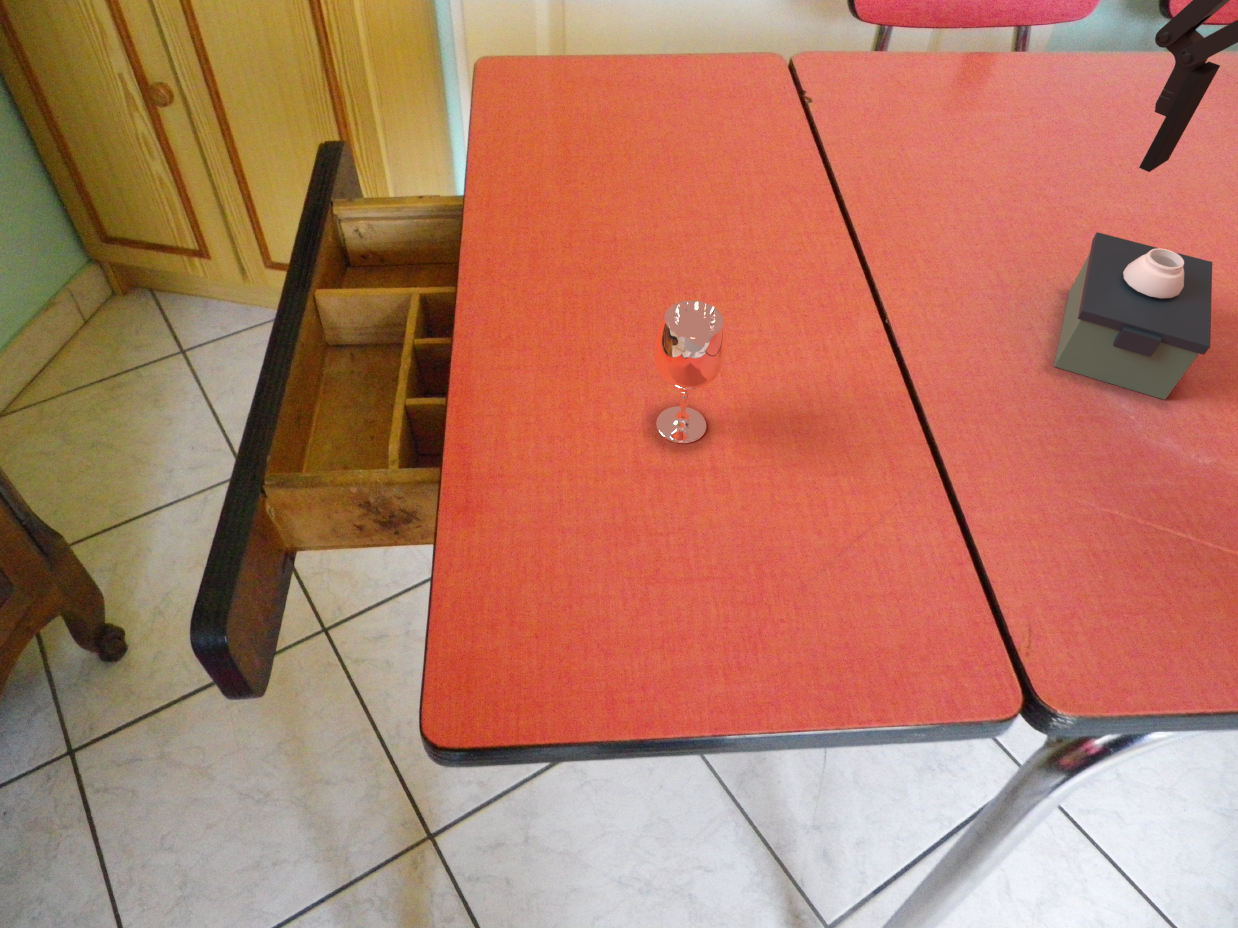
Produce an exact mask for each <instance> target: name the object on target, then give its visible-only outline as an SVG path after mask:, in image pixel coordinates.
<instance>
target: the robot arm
mask: <svg viewBox="0 0 1238 928" xmlns="http://www.w3.org/2000/svg"><path fill="white" fill-rule="evenodd" d="M1230 1H1231V0H1191V1H1190V2H1189V3H1187V4H1186V6H1184V7H1183V8H1182V9H1181V10H1180V11H1179V12H1178V13H1177V14H1176V15H1174V16H1173V17H1172V18H1171V19H1170V20H1169V21H1168V22H1167V23H1166V24H1164V25H1163V26H1162V27H1161V28H1160V29H1159V30H1158V31H1157V32H1156V34H1155V37H1154V42H1155V44H1156V46H1157V47H1159V48H1162V49H1166V50H1168V51H1169V52H1170V54H1172V56H1173V57H1174V67H1173V69H1172V71H1171V73H1170V74H1169V76H1168V78H1167V81H1166V82H1165V84H1164V86H1163V89H1162V90H1161V92H1160V94H1159V96H1158V98H1157V100H1156V102H1155V104H1154V105H1155V106H1154V113H1156V114H1159V115H1160V116H1164V117H1165V118H1164V119H1163V121H1162V122H1161V126H1160V127H1159V129H1158V131H1157V132H1156V134H1155V137H1154V138H1153V140H1152V141H1151V143H1150V146H1149V148H1148V149H1147V152H1146V153H1145V156H1144V157H1143V159H1142V161H1141V163H1140V164H1139V167H1138V168H1139V169H1141V170H1143V171H1146V172H1148V173H1151V172H1152V171H1154V170H1155V169H1157V168H1159V167H1160V166H1162V165H1163V164H1165V163H1166V162H1167V161H1169V159H1170V157H1171V156H1172V154H1173V153H1174V151H1175V149H1176V146H1177V145H1178V143H1179V141H1180V140H1181V138H1182V136H1183V135H1184V133H1185V130H1186V129H1187V127H1188V125H1189V123H1190V121H1191V120H1192V119H1193V116H1194V114H1195V113H1196V111H1197V109H1198V108H1199V105H1200V103H1201V102H1202V100H1203V98H1204V96H1205V95H1206V92H1207V91H1208V88H1209V87H1210V85H1211V83H1212V82H1213V80H1214V78H1215V76H1216V74H1217V72H1218V71H1219V69H1220V68H1221V65H1220V64H1217V63H1214V62H1212V61H1208V59H1209V58H1211V57H1213V56H1215V55H1217V54H1218V53H1221V52H1222V51H1224V50H1227V49H1228V48H1230V47H1232V46H1234V45H1235V44H1238V19H1236V20H1234V21H1233V22H1230V23H1229V24H1227V25H1225V26H1223V27H1221V28H1220V29H1218V30H1216V31H1214V32H1212V33H1210V34H1208V35H1207V36H1205V37H1204V36H1203V35H1202V34H1201V33H1200V32H1199V31H1198V30H1197V29H1199V28H1200V27H1201V26H1202V25H1203V24H1204V23H1206V22H1207V21H1208V20H1209V19H1210V18H1212V16H1214V15H1215V14H1216V13H1218V11H1219V10H1220V9H1222V8H1223V7H1224V6H1225V5H1226V4H1228V3H1229V2H1230Z"/></svg>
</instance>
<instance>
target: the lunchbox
mask: <svg viewBox="0 0 1238 928" xmlns="http://www.w3.org/2000/svg"><path fill="white" fill-rule="evenodd" d="M1091 241H1092V242H1091V246H1090V251H1089V253H1088V255H1087V257H1086V259H1085V261H1084V263H1083V265H1082V266H1081V268H1080V270H1079V272H1078V274H1077V276H1076V277H1075V279H1074V281H1073V283H1072V285H1071V287H1070V288H1069V291H1068V296H1067V301H1066V305H1065V310H1064V315H1063V320H1062V325H1061V329H1060V335H1059V340H1058V344H1057V350H1056V355H1055V360H1054V364H1053V366H1054V368H1057V369H1061V370H1064V371H1068V372H1071V373H1073V374H1078V375H1080V376H1084V377H1087V378H1091V379H1093V380H1098V381H1100V382H1104V383H1107V384H1111V385H1114V386H1117V387H1120V388H1124V389H1127V390H1131V391H1133V392H1137V393H1141V394H1144V395H1147V396H1150V397H1154V398H1156V399H1159V400H1164V401H1166V400H1167V398H1168V397H1169V395H1170V394H1171V393H1172V391H1173V390H1174V389H1175V387H1176V386H1177V385H1178V383H1179V382H1180V381H1181V379H1182V378H1183V376H1184V375H1185V374H1186V372H1187V371H1188V369H1189V368H1190V367H1191V365H1192V364H1193V363H1194V362H1195V360H1196V359H1197V357H1198V356H1199V355H1205V354H1206V353H1207V351H1209V349H1210V348H1211V333H1212V332H1211V331H1212V330H1211V328H1212V294H1213V293H1212V289H1213V261H1211V260H1207V259H1203V258H1198V257H1195V256H1191V255H1188V254H1183V253H1181V252H1180V253H1179V252H1175V251H1174V252H1175V253H1177V254H1178V255H1180V256H1181V257H1182V258H1183V260H1184V265H1183V269H1184V287H1183V289H1182V290H1181V292H1180V293H1179V295H1177V296H1174V297H1172V298H1157V297H1151V296H1148V295H1145V294H1143V293H1140V292H1138V291H1137V290H1135V289H1134V288H1132V287H1131V286H1129V285H1128V283H1127V282H1126V281H1125V279H1124V275H1123V272H1124V270H1125V268H1126V267H1127V266H1128V264H1130V263H1131V262H1133V261H1134V260H1136V259H1138V258H1139V257H1141V256H1142V255H1145V254H1147V253H1148V252H1149V251H1150V250H1152V249H1156V248H1157V247H1156V246H1153V245H1149V244H1145V243H1141V242H1137V241H1133V240H1128V239H1126V238H1121V237H1118V236H1114V235H1110V234H1106V233H1102V232H1099V231H1097V232H1095V234H1094V236H1093V238H1092V240H1091Z"/></svg>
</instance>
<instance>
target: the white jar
mask: <svg viewBox="0 0 1238 928" xmlns="http://www.w3.org/2000/svg"><path fill="white" fill-rule="evenodd" d="M1177 253H1178V252H1176V253H1175V251H1174V250H1173V251H1172V250H1170V249H1168V248H1161V247H1160V248H1159V247H1156V249H1152V250H1150V251H1149V252H1148V253H1147V254H1145V255H1142V256H1141V257H1139V258H1138V259H1136V260H1134V261H1133V262H1131V263H1130V264H1128V266H1127V267H1126V268H1125V270H1124V272H1123V275H1124V279H1125V281H1126V282H1127V283H1128V285H1129V286H1131V287H1132V288H1134V289H1135V290H1137V291H1138V292H1140V293H1143V294H1145V295H1148V296H1151V297H1157V298H1172V297H1174V296H1177V295H1179V293H1180V292H1181V290H1182V289H1183V287H1184V269H1183V265H1184V260H1183V258H1182V257H1181V256H1180V255H1178V254H1177Z"/></svg>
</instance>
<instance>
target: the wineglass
mask: <svg viewBox="0 0 1238 928" xmlns="http://www.w3.org/2000/svg"><path fill="white" fill-rule="evenodd" d="M654 342H655V344H654V362H655V366H656V369H657V371H658V374H659V375H660V376H661V378H663V380H665V382H667V383H668V384H669V385H671V386H673V387H675V388H678V389H679V392H680V397H681V402H680V405H674V406H671V407H668V408H666V409H663V410H662V411H661V412H660V413H659V415H658V416H657V418H656V421H655V427H656V430H657V432H658V434H660V435H661V436H662V437H663V438H664V439H666V440H667V441H670V442H672V443H676V444H690V443H694V442H696V441H698V440H699V439H701V438H702V437H703V436H704V435H705V434H706V431H707V422H706V419H705V417H704V416H703V414H702V413H700V412H699V411H698V410H697V409H694V408H692V407H690V406H689V407H688V406H687V403H688V399H689V396H690V394H691V392H692V390H697V389H701V388H704V387H707V386H708V385H710V384H711V383H713V382H714V381H715V380H716V379H717V378H718V377H719V376H720V374H721V372H722V371H723V368H724V365H725V362H726V357H727V331H726V325H725V319H724V316H723V314H722V313H721V312H720V310H719V309H718V308H717V307H715V306H714V305H712V304H710V303H708V302H705V301H701V300H682V301H679V302H676V303H673V304H672V305H671V306H670V307H669V308H668V309H666V311H665V313H664V316H663V318H662V320H661V323H660V325H659V328H658V331H657V334H656V338H655V341H654Z"/></svg>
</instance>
